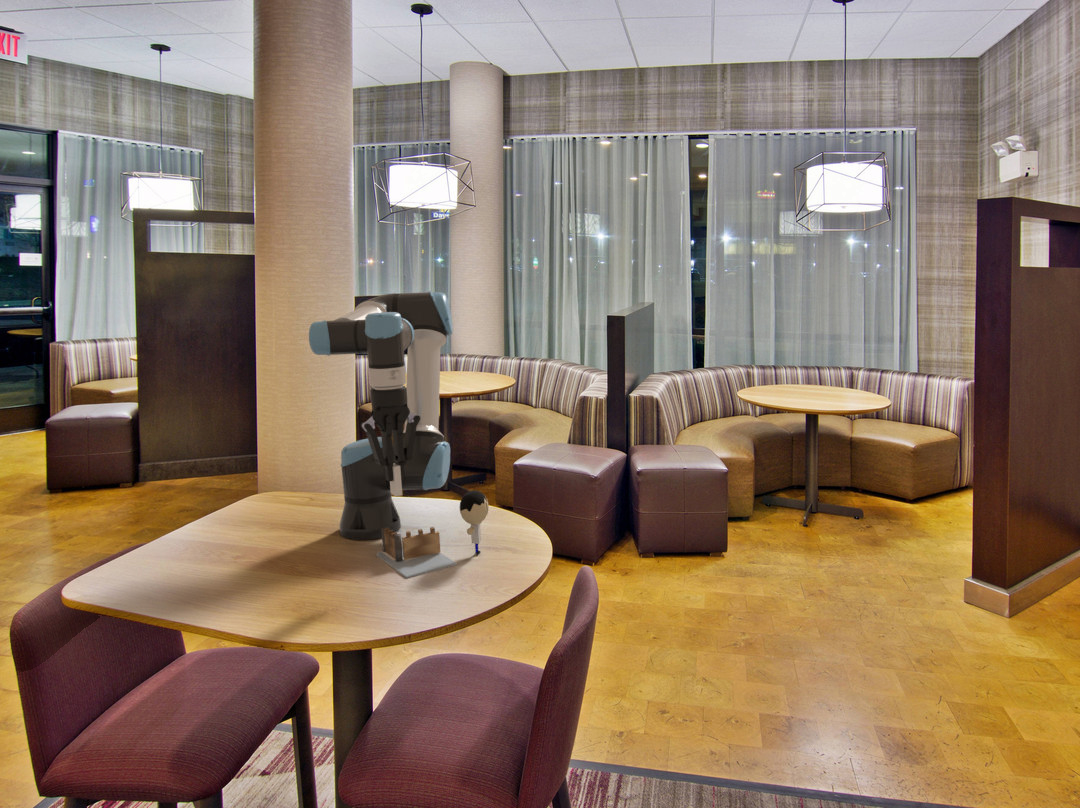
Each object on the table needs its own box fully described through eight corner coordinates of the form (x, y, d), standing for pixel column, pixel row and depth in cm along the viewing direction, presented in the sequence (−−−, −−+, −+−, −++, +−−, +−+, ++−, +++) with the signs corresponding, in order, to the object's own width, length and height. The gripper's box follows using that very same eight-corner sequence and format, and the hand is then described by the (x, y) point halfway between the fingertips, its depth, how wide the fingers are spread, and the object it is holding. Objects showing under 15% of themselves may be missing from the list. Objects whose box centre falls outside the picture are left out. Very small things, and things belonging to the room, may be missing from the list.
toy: (485, 561, 172) (482, 497, 169) (457, 560, 173) (453, 496, 171) (495, 547, 180) (492, 486, 178) (468, 546, 182) (464, 485, 179)
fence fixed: (382, 552, 180) (380, 526, 179) (388, 551, 181) (386, 525, 179) (397, 564, 172) (395, 536, 171) (404, 562, 173) (402, 535, 172)
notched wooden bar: (404, 559, 173) (402, 533, 172) (403, 557, 174) (401, 532, 173) (440, 552, 176) (438, 527, 175) (439, 550, 177) (437, 526, 176)
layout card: (376, 555, 178) (376, 553, 178) (423, 543, 185) (423, 541, 185) (406, 578, 164) (406, 576, 164) (456, 564, 171) (456, 562, 171)
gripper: (366, 392, 154) (375, 504, 159) (424, 384, 162) (431, 492, 166) (351, 388, 160) (361, 496, 165) (408, 380, 168) (416, 484, 172)
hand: (396, 494), depth 166 cm, fingers closed
